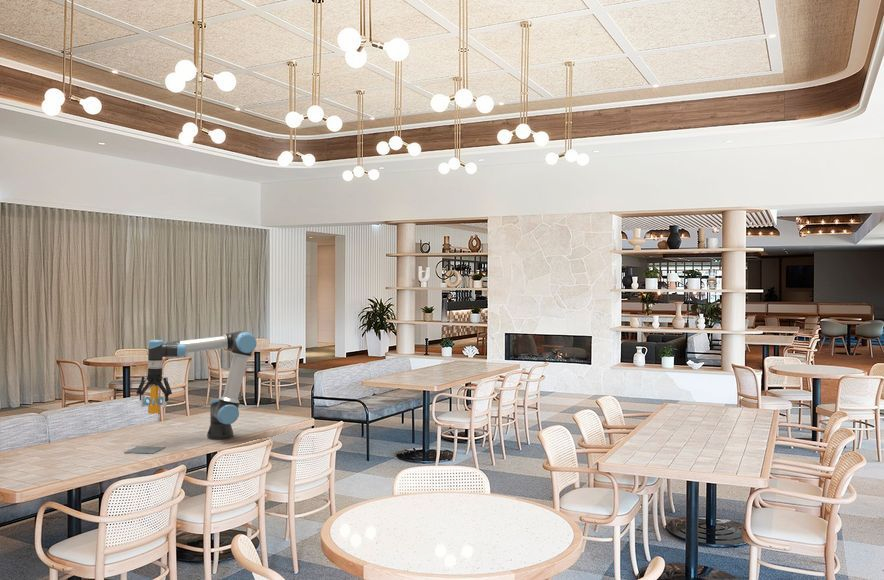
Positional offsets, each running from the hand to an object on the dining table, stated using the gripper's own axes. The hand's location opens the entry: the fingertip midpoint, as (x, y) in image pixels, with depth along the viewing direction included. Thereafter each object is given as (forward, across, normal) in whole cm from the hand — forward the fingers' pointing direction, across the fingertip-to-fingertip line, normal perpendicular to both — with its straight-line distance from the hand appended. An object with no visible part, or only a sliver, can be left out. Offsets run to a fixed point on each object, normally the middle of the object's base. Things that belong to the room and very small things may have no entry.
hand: (153, 407), depth 390 cm
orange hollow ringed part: (+4, 0, 0) cm, 4 cm away
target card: (+23, -2, -5) cm, 24 cm away
